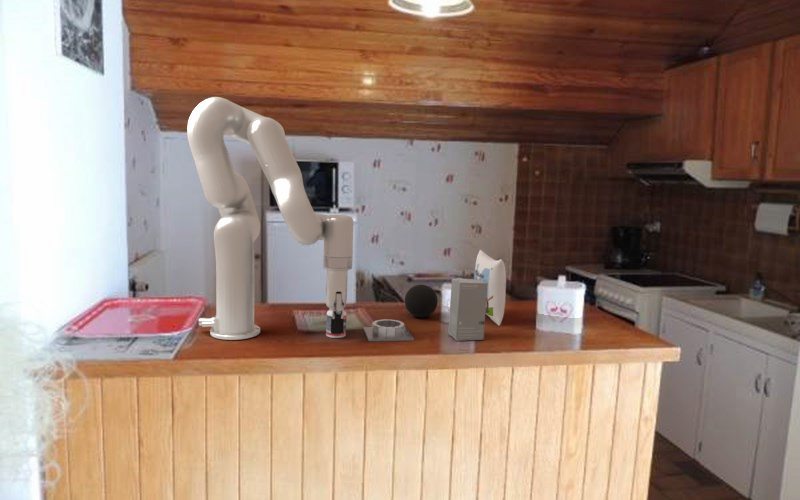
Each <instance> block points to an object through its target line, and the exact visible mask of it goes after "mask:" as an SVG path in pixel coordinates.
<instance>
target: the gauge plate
mask: <svg viewBox="0 0 800 500" xmlns="http://www.w3.org/2000/svg"><path fill="white" fill-rule="evenodd" d="M405 325H406V324H405V323H404V322H403V321H401V320H398V319H387V318H385V319H377V320H374V321H372V323H371V326H363V328H362V329H363V331H364V334H365V337H366V338H367V341H368V342H398V341H399V342H404V341H405V342H406V341H407V342H410V341H411V342H412V341H413V342H414V341H415V338H414V336H413V335H412V333H411V332H410V331H409V329H408V328H407V326H405Z"/></svg>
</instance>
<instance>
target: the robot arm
mask: <svg viewBox="0 0 800 500" xmlns="http://www.w3.org/2000/svg"><path fill="white" fill-rule="evenodd" d="M186 127H187V128H186V130H187V131H186V132H187V141H188V144H189V145H188V146H189V149H190V152H191V154H192V159H193V160H194V163H195V164H194V165H195V168H196V171H197V175H198V177H199V181H200V184H201V186H202V191H203V194H204V197H205V199H206V201H207V202H208V203H209V205H211V206H212V207H214V208H216V209H218V211H219V214H220V215H219V216H220V219H218V221H217V222H216V224H215V226H214V230H213V243H214V244H213V245H214V251H215V252H214V253H215V277H216V278H215V279H216V280H215V281H216V282H215V283H216V284H215V285H216V286H215V288H216V291H215V295H216V297H215V300H216V301H215V302H216V304H215V305H216V306H215V307H216V310H215V311H216V313H215V316H212V317H211V318H210V317H209V318H207V317H199V318H198V326H201V327H202V328H208V327H211V328H210V330H209V333H210V336H211V337H212V338H215V339H218V340H225V341H227V340H228V341H233V340H234V341H235V340H236V341H237V340H240V341H241V340H246V339H251V338H254V337H256V336H258V335H259V334H261V327H260V326H258V325H257V324H255V252H254V249H255V248H254V242H255V241H256V240H257V238H258V237H259V235H260V233H261V223H260V222H261V221H260V218H259V216H258V212H257V209H256V206H255V203H254V202H255V201H254V200H253V196H252V192H251V190H250V187H249V185H248V183H247V181H246V179H245V178H244V177H243V175H241V174H239V173H238V172H236V171H235V168H234V167H233V163H232V160H231V157H230V153H229V150H228V148H227V144H226V143H225V139H224V135H225V136H228V137H231V138H233V139H234V140H238V141H240V142H242V143H244V144H247V145H249V146H251V149H252V150H253V151H252V152H253V153H254V154H255V157H256V159H257V161H258V163H259V165H260V168H261V170H262V171H263V174H264V176H265V177H266V179H267V182H268V184H269V187H270V190H271V193H272V195H273V196H274V198H275V199H274V200H275V201H276V203H277V207H278V209H279V212H280V213H281V216H282V218H283V220H284V222H285V224H286V227H287V228H288V230H289V233H290V235H291V236H292V238H293V239H294V240H295V241H296V242H297V243H298V244H300V245H303V246H311V245H314V244H316V243H317V242H318V241H323V259H322V260H323V262H322V263H323V264H322V265H323V269H325V270H326V276H325V277H326V279H325V282H326V283H325V304H326V307H327V308H329V309H330V306H332V318H331V333H332V334H342V333H343V326H344V318H343V310H344V309H345V308H346V307H347V300H348V297H347V296H348V275H349V273H348V271H350V270H352V269H353V255H354V254H353V252H354V249H353V248H354V218H353V217H352V216H350V215H346V214H322V213H317V212H316V213H315V210H314V208H313V206H312V205H311V202H310V200H309V197H308V195H307V193H306V190H305V187H304V181H303V175H302V172H301V169H300V167H299V165H298V162H297V160H296V159H295V156H294V155H293V152H292V149H291V148H290V146H289V143H288V142H287V139H286V133H285V129H284V127H283V126H282V125H281V123H279V122H278V120H275V119H273V118H271V117H268V116H264V115H261V114H259V113H258V112H255V111H252V110H250V109H247V108H245V107H243V106H241V105H239V104H237V103H235V102H232V101H231V100H229V99H227V98H224V97H221V96H220V97H219V96H211V97H208V98H206V99H204V100H203V101H201V102H200V103H198V104H197V106H196V107H195V108H194V109H193V110H192V112H191V114H190V116H189V118H188V120H187V126H186ZM334 305H336V307H334ZM343 308H344V309H343ZM335 309H336V310H335Z"/></svg>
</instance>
